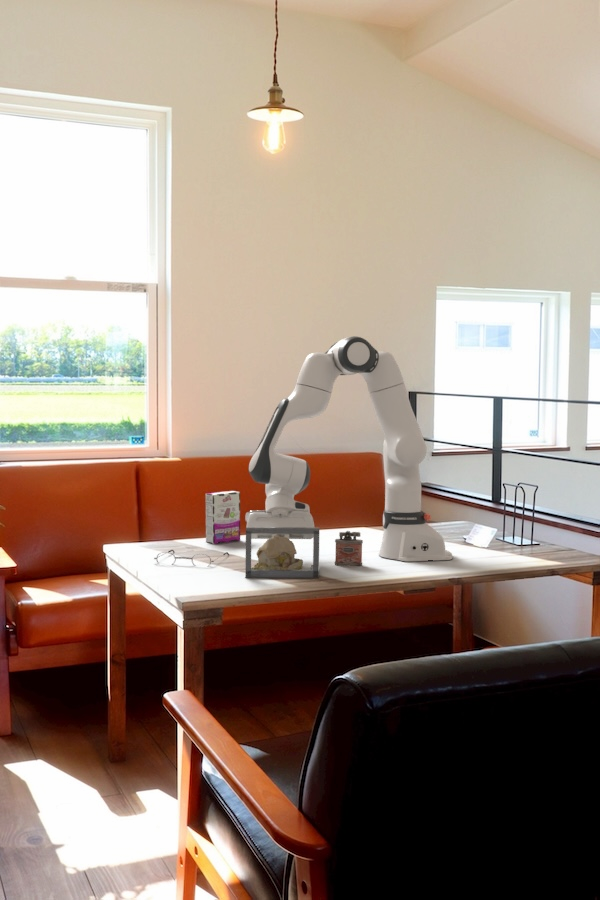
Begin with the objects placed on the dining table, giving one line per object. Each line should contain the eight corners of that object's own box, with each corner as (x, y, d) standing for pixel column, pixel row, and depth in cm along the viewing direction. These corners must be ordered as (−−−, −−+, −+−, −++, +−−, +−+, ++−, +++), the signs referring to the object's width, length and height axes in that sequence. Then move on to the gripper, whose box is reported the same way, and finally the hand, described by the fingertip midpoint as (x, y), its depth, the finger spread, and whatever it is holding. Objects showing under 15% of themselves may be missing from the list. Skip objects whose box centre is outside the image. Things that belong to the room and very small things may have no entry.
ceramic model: (266, 575, 256) (266, 540, 255) (245, 568, 265) (245, 534, 264) (308, 570, 264) (308, 535, 263) (286, 563, 273) (287, 529, 272)
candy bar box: (231, 538, 313) (232, 490, 312) (240, 540, 310) (241, 491, 308) (204, 542, 306) (204, 492, 305) (213, 544, 302) (213, 494, 301)
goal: (316, 569, 265) (316, 522, 264) (318, 578, 254) (319, 528, 253) (245, 569, 264) (246, 521, 262) (245, 577, 253) (245, 527, 252)
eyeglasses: (153, 565, 270) (153, 552, 270) (173, 555, 288) (173, 542, 288) (213, 568, 267) (213, 554, 266) (229, 558, 285) (230, 545, 285)
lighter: (334, 565, 271) (334, 531, 270) (335, 563, 274) (335, 529, 273) (361, 566, 270) (362, 532, 269) (362, 564, 273) (363, 530, 272)
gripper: (245, 504, 275) (244, 542, 266) (314, 504, 276) (315, 543, 267) (245, 516, 280) (244, 555, 271) (312, 517, 281) (314, 555, 272)
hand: (280, 549), depth 269 cm, fingers closed
